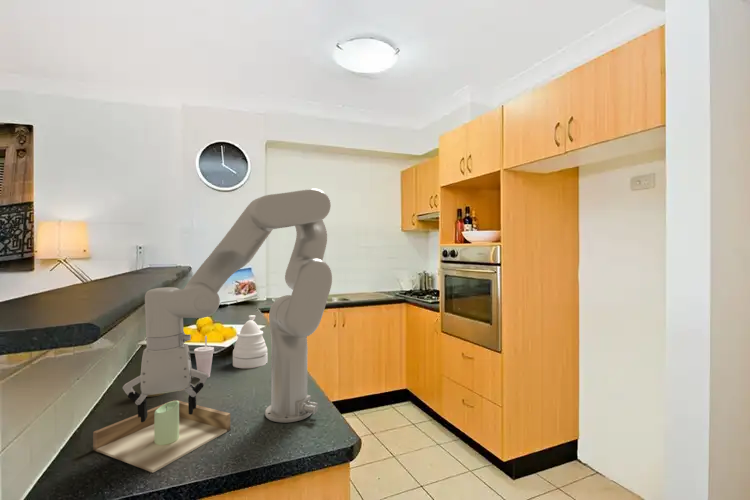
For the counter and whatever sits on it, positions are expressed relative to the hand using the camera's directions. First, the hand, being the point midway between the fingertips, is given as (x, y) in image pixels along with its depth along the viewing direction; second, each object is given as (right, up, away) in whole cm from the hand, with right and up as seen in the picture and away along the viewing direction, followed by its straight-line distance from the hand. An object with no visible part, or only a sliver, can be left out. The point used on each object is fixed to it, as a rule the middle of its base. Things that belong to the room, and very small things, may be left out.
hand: (168, 415), depth 88 cm
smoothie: (-12, -6, +45) cm, 46 cm away
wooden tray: (-1, -6, +1) cm, 6 cm away
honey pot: (-1, -6, +60) cm, 61 cm away
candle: (0, -6, 0) cm, 6 cm away
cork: (-20, -6, +30) cm, 36 cm away
